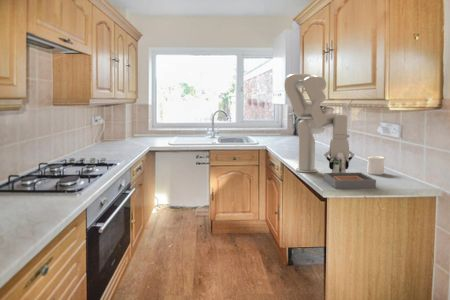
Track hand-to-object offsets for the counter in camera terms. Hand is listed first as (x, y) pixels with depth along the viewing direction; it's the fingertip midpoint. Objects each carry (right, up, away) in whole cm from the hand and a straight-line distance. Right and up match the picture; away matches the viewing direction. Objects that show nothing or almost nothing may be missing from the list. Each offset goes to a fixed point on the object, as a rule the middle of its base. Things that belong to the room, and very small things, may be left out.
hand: (338, 168), depth 226 cm
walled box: (+1, -7, -16) cm, 18 cm away
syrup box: (0, -5, +1) cm, 5 cm away
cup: (+25, -4, +12) cm, 28 cm away
